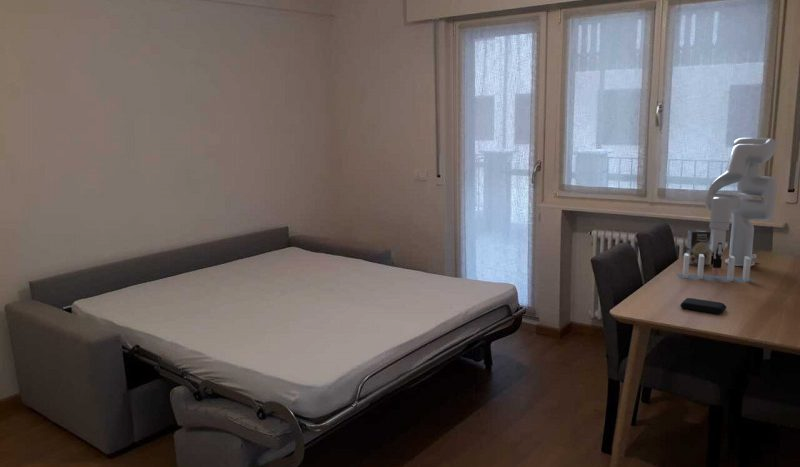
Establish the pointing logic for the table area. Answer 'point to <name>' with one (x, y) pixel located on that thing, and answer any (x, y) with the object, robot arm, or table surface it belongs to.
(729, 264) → the domino
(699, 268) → the domino
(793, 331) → the table surface
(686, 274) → the domino
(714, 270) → the red domino
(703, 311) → the carrying case or bag
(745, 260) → the domino
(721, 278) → the domino mat
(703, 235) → the coffee box
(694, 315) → the table surface
